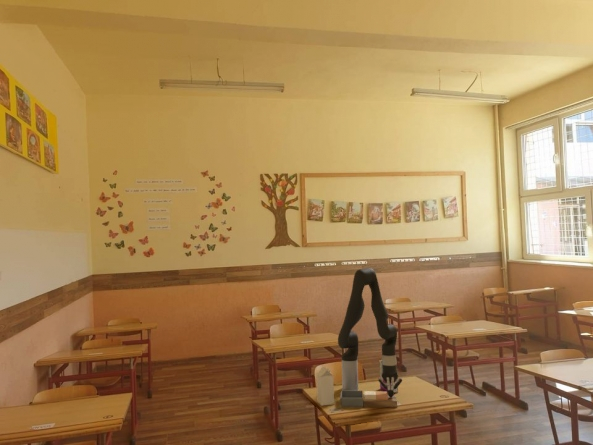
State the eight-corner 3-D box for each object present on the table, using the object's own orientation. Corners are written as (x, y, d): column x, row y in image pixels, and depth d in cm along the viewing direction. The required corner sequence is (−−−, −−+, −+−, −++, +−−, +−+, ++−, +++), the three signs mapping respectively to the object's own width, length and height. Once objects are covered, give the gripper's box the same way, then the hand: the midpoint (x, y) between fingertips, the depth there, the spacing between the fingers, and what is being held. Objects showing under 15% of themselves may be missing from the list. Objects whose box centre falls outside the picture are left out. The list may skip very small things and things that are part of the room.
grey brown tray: (363, 399, 248) (363, 394, 248) (395, 400, 246) (395, 394, 246) (363, 406, 237) (363, 400, 237) (397, 407, 235) (397, 401, 235)
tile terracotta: (375, 395, 245) (375, 391, 245) (387, 396, 244) (386, 391, 244) (376, 399, 239) (375, 394, 239) (387, 399, 238) (387, 394, 238)
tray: (341, 399, 251) (341, 390, 251) (362, 399, 249) (362, 390, 249) (340, 407, 238) (340, 397, 238) (363, 407, 236) (362, 398, 237)
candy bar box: (398, 392, 259) (397, 363, 260) (391, 394, 257) (390, 364, 258) (386, 387, 269) (385, 359, 270) (379, 388, 267) (378, 360, 268)
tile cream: (364, 395, 246) (364, 391, 246) (375, 395, 245) (375, 391, 245) (364, 399, 240) (364, 394, 240) (376, 399, 239) (375, 394, 239)
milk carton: (321, 406, 240) (320, 369, 241) (317, 401, 247) (316, 366, 248) (334, 404, 242) (333, 367, 243) (329, 400, 249) (328, 364, 250)
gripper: (401, 361, 245) (402, 394, 244) (376, 361, 247) (377, 394, 246) (402, 364, 238) (404, 399, 237) (377, 365, 239) (378, 399, 238)
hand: (390, 396), depth 241 cm, fingers closed
